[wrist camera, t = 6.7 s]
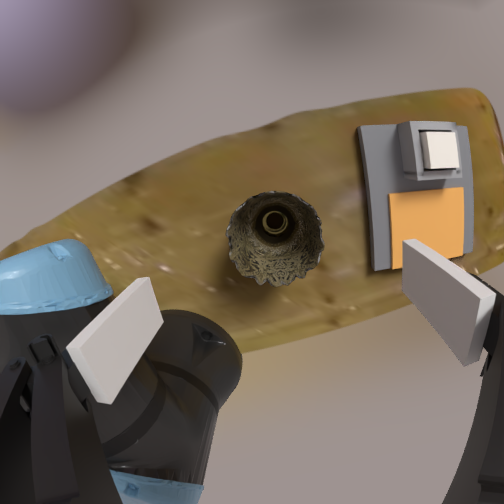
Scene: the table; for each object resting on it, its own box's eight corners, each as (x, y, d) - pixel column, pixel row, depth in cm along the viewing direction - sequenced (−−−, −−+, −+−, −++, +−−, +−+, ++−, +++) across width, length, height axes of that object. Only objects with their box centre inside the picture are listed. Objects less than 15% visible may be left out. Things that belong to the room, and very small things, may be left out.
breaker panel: (371, 267, 29) (384, 282, 25) (356, 127, 25) (370, 121, 21) (467, 249, 28) (486, 259, 24) (461, 126, 23) (482, 124, 19)
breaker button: (415, 167, 24) (431, 168, 21) (410, 134, 23) (426, 131, 20) (442, 166, 23) (459, 167, 20) (438, 134, 22) (455, 132, 19)
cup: (312, 253, 29) (325, 284, 22) (242, 258, 30) (232, 290, 22) (308, 181, 27) (322, 187, 20) (234, 187, 28) (220, 196, 20)
